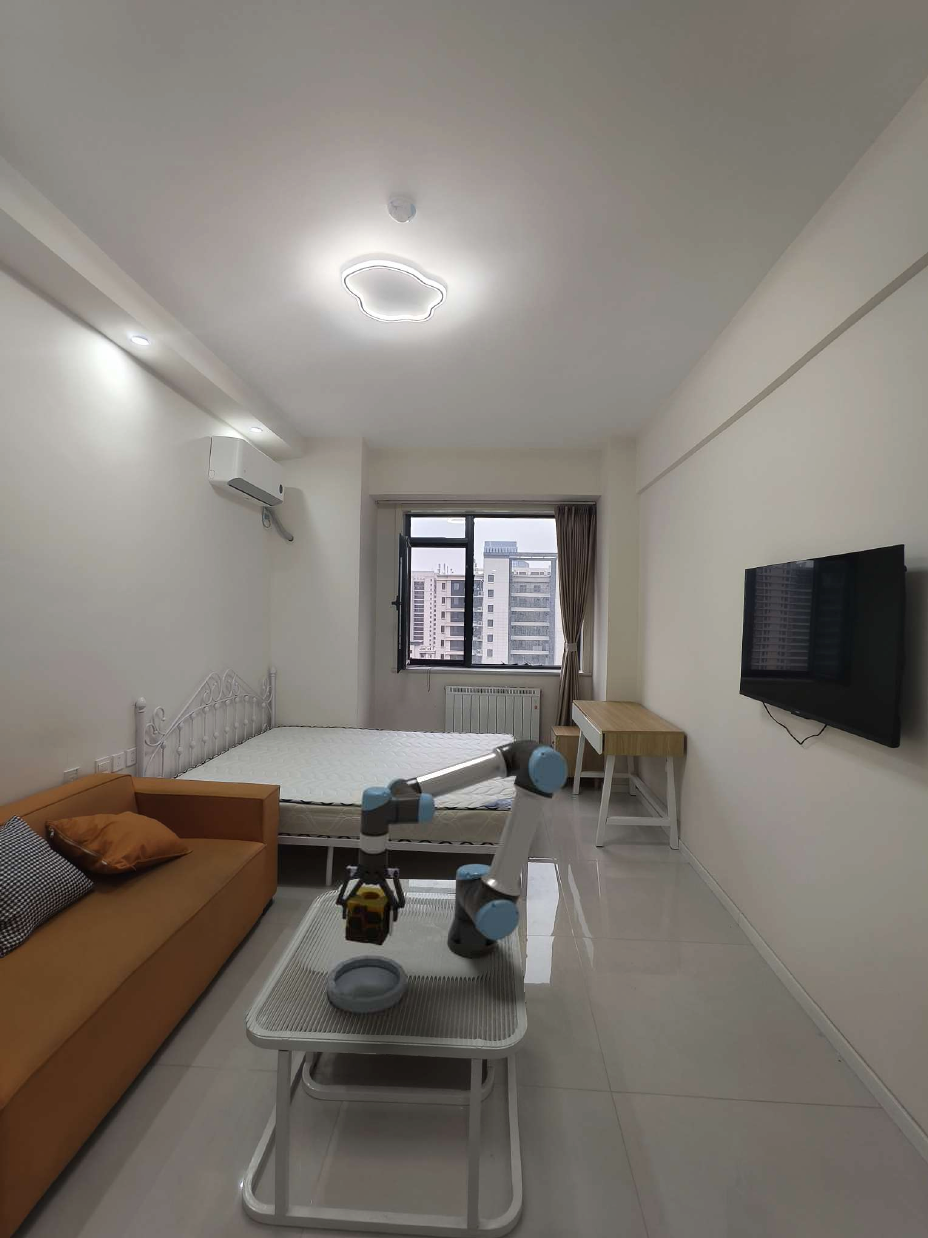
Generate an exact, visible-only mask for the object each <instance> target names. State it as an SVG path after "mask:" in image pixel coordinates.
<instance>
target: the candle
mask: <svg viewBox="0 0 928 1238" xmlns="http://www.w3.org/2000/svg"><path fill="white" fill-rule="evenodd" d="M391 890H392V892H393V894H394V892H395V891H394V890H395V889H394V890H393V889H391ZM394 895H395V894H394ZM347 908H348V914H347V925H346V924H345V931H344V932H345V933H344V934H345V936H344V938H345V940H346V941H349V942H354V943H361V944H371V945H375V946H379V947H381V946H383V944H384V942H385V941H386V939H387V938H388V937H389V924H390V910H391V904H390V902H389V901H388V899H387V897H386V895H385V894H384V892H383V890H382V889H381V888H380V887H372V886H371V887H370V886H363V885H362V886H361V888H360V889H359V890H358V892H357V893H356V894H355V896H354V897H353V898H352V897H351V898H350V899H349V900H348V902H347Z"/></svg>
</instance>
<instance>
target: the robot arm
mask: <svg viewBox="0 0 928 1238" xmlns="http://www.w3.org/2000/svg"><path fill="white" fill-rule="evenodd" d="M510 777H511V778H512V777H515V779H514V782H513V787H514V789H515V791H516V793H515V795H514V798H513V801H512V804H511V806H510V807H511V808H510V810H509V813H508V816H507V819H506V821H505V823H504V824H505V825H504V827H503V831H502V833H501V835H500V839H499V842H498V845H497V847H496V851H495V853H494V856H493V859H492V862H491V865H486V864H480V863H470V864H465V865H462V866H460V867H459V868H458V869H457V870H456V875H455V895H454V917H453V920H452V922H451V925H450V928H449V930H448V933H447V942H446V943H447V946H448V948H449V950H451V951H452V952H453V953H454V954H455V953H456V954H457V955H459V956H463V957H466V958H467V957H468V958H482V956H483V957H487V956H489V955H491V954H493V953H494V952H495V951H496V950H497V948H498V941H499V940H503V939H505V938H506V937H509V936H510V935H511V934H513V932H515V930H516V929H517V927H518V925H519V922H520V912H519V909H518V906H517V903H518V902H519V901H518V900H519V898H520V894H521V891H520V888H519V886H518V883H519V881H520V877H521V875H522V871H523V869H524V866H525V863H526V860H527V856H528V854H529V850H530V848H531V845H532V842H533V838H534V836H535V833H536V830H537V827H538V824H539V821H540V817H541V815H542V812H543V809H544V807H545V804H546V803H547V802H549V801H551V800H552V799H553V797H554V794H555V792H558V790H560V789H561V788H562V787H564V785H565V784H566V782H567V779H568V765H567V762H566V760H565V758H564V756H563V755H562V754H561V753H560V752H558V751H557V750H556V749H554V748H552V747H550V746H547V745H545V744H543V743H540V742H539V741H536V740H533V739H520V740H516V741H512V742H509V743H506V744H502V745H500V746H499V745H498V746H497V747H493V748H492V751H491V752H489V753H486V754H483V755H482V754H481V755H480V756H477V757H474V758H471V759H468V760H464V761H462V762H458V763H455V764H452V765H449V766H446V767H445V766H444V767H443V768H439V769H437V770H433V771H430V772H427V773H424V774H422V775H418V776H414V777H410V778H408V779H405V778H400V777H398V778H395V779H393V780H391V781H390V782H389V783H388V784H387V787H384V786H371V787H368V788H366V789H364V790H363V792H362V796H361V797H362V798H361V806H360V828H359V829H360V830H359V844H358V845H359V850H358V864H357V866H352V865H351V864H349V865H348V866H347V867H346V869H345V877H344V881H343V883H342V886H341V888H340V890H339V893H338V896H337V899H336V900H335V904H336V905H337V906H341V907H342V911H341V913H342V915H341V918H342V920H345V926H346V925H347V914H348V908H347V902H348V900H349V899H350V898H351V897H352V898H353V897H354V896H355V894H356V893H357V892H358V890H359V889H360V888H361V886H363V885H364V884H365V886H369V885H372V886H379V888H380V889H382V890H383V892H384V894H385V895H386V897H387V899H388V901H389V902H390V904H391V910H390V924H389V934H388V937H393V932H394V923H397V922H398V918H399V910H400V909H404V908H405V906H406V901H407V900H406V898H405V894H404V891H403V887H402V883H401V881H400V877H399V873H400V868H399V867H395V868H389V866H388V857H389V856H388V854H389V853H388V852H389V848H388V847H389V837H390V826H397V825H414V824H418V825H421V824H425V823H426V824H427V823H430V822H432V821H434V818H435V813H436V805H435V800H434V799H436V798H440V797H442V796H445V795H449V794H451V793H454V792H457V791H460V790H463V789H466V788H469V787H472V786H476V785H477V784H478V785H479V784H481V783H485V782H487V781H490V780H493V779H495V778H496V779H497V778H501V779H507V778H510ZM355 873H356V874H357V875H358V877H359V879H358V880H357V882H356V884H355V885H354V886H353V887H352V889H351V890H350V892H349V893H348V895H347V896H346V898H344V895H345V892H346V890H347V888H348V885H349V882H350V881H351V878H352V877H353V876H354V874H355ZM388 875H389V876H390V878H392V882H393V886H394V890H395V893H396V896H395V894H393V892H392V890H393V889H392V888H391V887H390V885H389V883H388V881H387V878H386V877H387V876H388ZM396 897H397V898H396ZM496 947H497V948H496ZM495 949H496V950H495ZM494 950H495V951H494ZM493 951H494V952H493ZM492 952H493V953H492ZM490 953H491V954H490ZM488 954H489V955H488ZM486 955H487V956H486Z"/></svg>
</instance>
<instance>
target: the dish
mask: <svg viewBox="0 0 928 1238" xmlns="http://www.w3.org/2000/svg"><path fill="white" fill-rule="evenodd" d="M406 983H407V973H406V970H405V969H404V967H403V965H401V964H400V963H399V962H397V961H396V960H394V959H392V958H389V957H385V956H383V955H369V954H367V955H366V954H364V955H360V956H355V957H351V958H348V959H346V960H343V961H341V962H339V963H338V964H337V965H336V966H335V967H334V968H333V969H331V970H330V972H329V976H328V978H327V985H326V986H327V995H328V998H329V1001H330V1002H331V1003H332V1004H333V1005H334V1006H335V1007H336V1008H338V1009H339V1010H342V1011H345V1012H347V1013H351V1014H360V1015H363V1014H364V1015H367V1014H375V1013H379V1012H383V1011H385V1010H387V1009H390V1008H391V1007H393V1006H395V1005H396V1004H397V1003H399V1002H400V1001H401V999H402V998H403V996H404V994H405V992H406Z"/></svg>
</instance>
